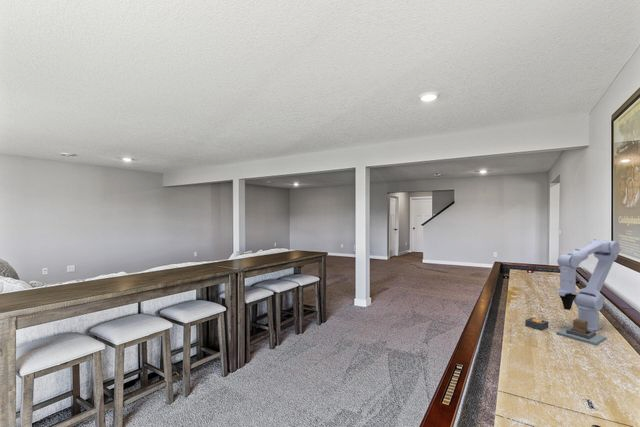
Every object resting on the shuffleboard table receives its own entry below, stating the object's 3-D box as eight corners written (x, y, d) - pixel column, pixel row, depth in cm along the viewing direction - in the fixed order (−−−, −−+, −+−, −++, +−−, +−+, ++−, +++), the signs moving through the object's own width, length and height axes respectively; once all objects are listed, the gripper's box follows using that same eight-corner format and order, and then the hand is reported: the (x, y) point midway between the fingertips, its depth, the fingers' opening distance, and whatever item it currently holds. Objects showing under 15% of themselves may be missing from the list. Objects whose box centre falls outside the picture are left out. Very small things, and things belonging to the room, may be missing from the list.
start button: (534, 322, 155) (534, 318, 155) (543, 324, 151) (543, 320, 151) (530, 323, 152) (530, 319, 152) (539, 326, 149) (539, 322, 149)
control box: (531, 323, 157) (532, 317, 157) (548, 327, 151) (548, 321, 151) (525, 326, 153) (525, 319, 153) (541, 330, 147) (542, 324, 147)
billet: (576, 331, 143) (576, 318, 143) (587, 334, 140) (587, 321, 140) (573, 333, 141) (573, 320, 141) (584, 336, 138) (584, 322, 138)
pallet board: (567, 328, 150) (567, 323, 150) (606, 339, 138) (606, 333, 138) (556, 334, 143) (556, 328, 143) (596, 345, 131) (596, 339, 131)
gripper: (563, 277, 157) (563, 304, 157) (551, 280, 149) (550, 309, 149) (581, 280, 151) (581, 308, 151) (569, 283, 143) (569, 313, 143)
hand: (567, 309), depth 149 cm, fingers closed
